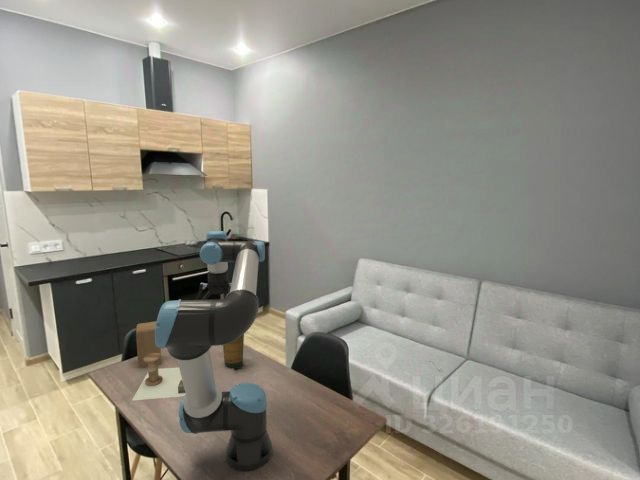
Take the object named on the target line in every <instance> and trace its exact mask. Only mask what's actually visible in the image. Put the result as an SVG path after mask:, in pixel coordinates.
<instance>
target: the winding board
mask: <svg viewBox="0 0 640 480" xmlns="http://www.w3.org/2000/svg"><path fill="white" fill-rule="evenodd" d="M158 374H159V375H160V376H162V378H163V381H162V382H161V383H160V384H158V385H155V386H147V385H146V384H145V380H146V379H147V378H149V375H148V372H147V373H146V375H145V376H144V379H143V380H142V382H141V383H140V385H139V387H138V389H137V390H136V392H135V394H134V396H133V398H132V402H133V401H144V400H155V399H167V398H168V399H169V398H180V397H182V398H183V396H185V395H186V393H178V385H179V383H180V380H182V377H181V373H180V369H179V366H178V367H164V368H158Z"/></svg>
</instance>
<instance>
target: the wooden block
mask: <svg viewBox="0 0 640 480" xmlns="http://www.w3.org/2000/svg"><path fill="white" fill-rule="evenodd" d="M156 322H157V320H156V321H150V322H148V321H147V322H143V323H142V322H141V323H138V324H136V328H135V330H136V331H135V341H136V351H137V364H138V365H137V366H138V369H141V368H148V363H146V362H144V357H145V356H146V355H148V354H151V353H160V354H161V355H162V348H158V347H157V346H156V344H155V328H156ZM161 364H162V358H161V359H160V360H158V366H159V365H161Z"/></svg>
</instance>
